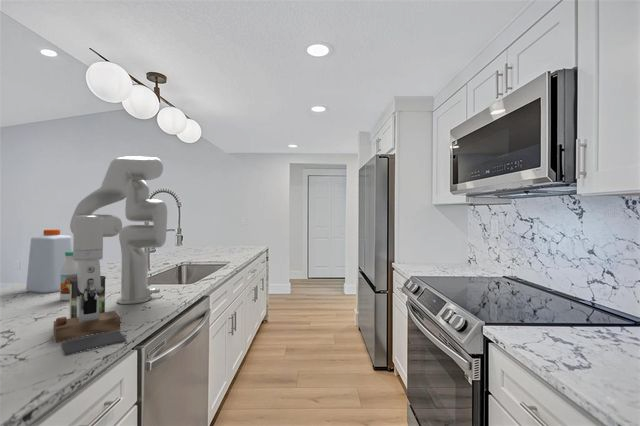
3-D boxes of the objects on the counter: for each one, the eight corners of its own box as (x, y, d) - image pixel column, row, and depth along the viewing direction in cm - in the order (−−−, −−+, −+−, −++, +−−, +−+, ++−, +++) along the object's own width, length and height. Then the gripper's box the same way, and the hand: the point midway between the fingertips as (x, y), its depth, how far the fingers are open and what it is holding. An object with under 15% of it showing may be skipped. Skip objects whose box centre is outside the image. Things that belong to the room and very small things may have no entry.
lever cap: (96, 315, 105) (96, 291, 104) (98, 319, 101) (99, 294, 101) (76, 318, 101) (76, 293, 101) (79, 322, 97) (79, 297, 97)
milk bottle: (55, 299, 135) (56, 251, 135) (75, 295, 142) (75, 249, 142) (67, 301, 132) (67, 253, 132) (87, 297, 139) (87, 250, 139)
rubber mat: (118, 332, 101) (118, 330, 101) (126, 341, 94) (126, 339, 94) (61, 344, 91) (61, 342, 91) (65, 355, 85) (65, 353, 85)
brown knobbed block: (114, 322, 109) (114, 305, 109) (120, 329, 104) (120, 311, 104) (53, 334, 98) (53, 316, 98) (55, 342, 93) (56, 323, 93)
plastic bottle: (47, 294, 143) (47, 231, 143) (21, 291, 146) (21, 230, 146) (79, 286, 158) (80, 229, 157) (55, 284, 161) (55, 228, 161)
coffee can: (110, 317, 115) (111, 277, 115) (77, 325, 106) (77, 282, 106) (96, 311, 120) (97, 274, 120) (63, 319, 112) (64, 278, 112)
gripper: (108, 256, 97) (107, 314, 97) (97, 251, 110) (96, 302, 110) (77, 259, 92) (76, 319, 92) (69, 253, 104) (68, 306, 104)
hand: (87, 309), depth 101 cm, fingers open, 9 cm apart
